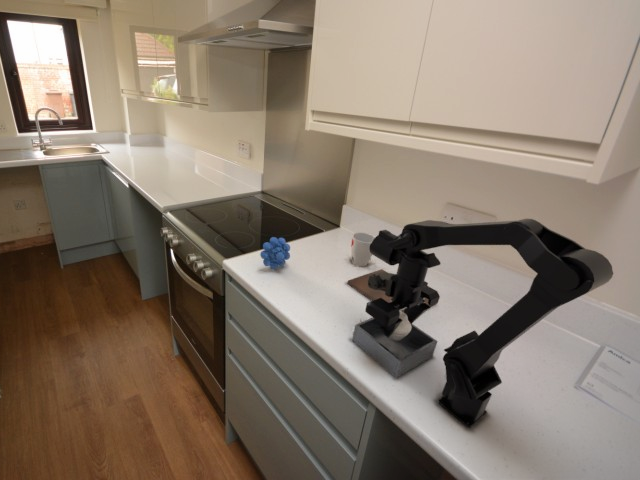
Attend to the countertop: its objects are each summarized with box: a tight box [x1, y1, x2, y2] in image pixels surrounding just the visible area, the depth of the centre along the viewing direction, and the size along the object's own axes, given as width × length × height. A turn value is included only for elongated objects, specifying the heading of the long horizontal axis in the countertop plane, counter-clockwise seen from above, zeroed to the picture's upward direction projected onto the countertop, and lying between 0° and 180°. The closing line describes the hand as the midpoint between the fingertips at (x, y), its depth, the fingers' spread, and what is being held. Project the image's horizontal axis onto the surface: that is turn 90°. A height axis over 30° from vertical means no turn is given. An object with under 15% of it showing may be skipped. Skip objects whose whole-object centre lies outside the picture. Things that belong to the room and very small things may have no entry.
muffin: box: [389, 311, 412, 341], centre depth 80 cm, size 6×6×7 cm
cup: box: [350, 232, 376, 267], centre depth 119 cm, size 8×8×10 cm
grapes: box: [259, 236, 291, 270], centre depth 111 cm, size 12×7×12 cm, turn 120°
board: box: [347, 268, 431, 312], centre depth 104 cm, size 20×16×1 cm
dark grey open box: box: [351, 317, 438, 379], centre depth 82 cm, size 13×13×5 cm
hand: (395, 331), depth 81 cm, fingers closed on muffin, 6 cm apart
